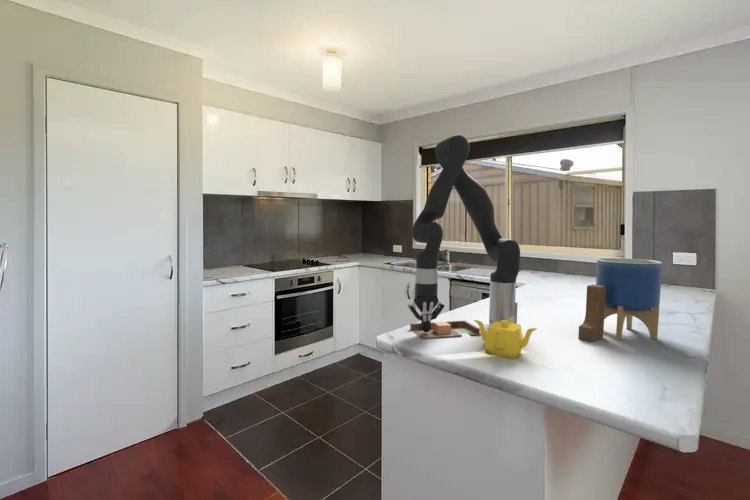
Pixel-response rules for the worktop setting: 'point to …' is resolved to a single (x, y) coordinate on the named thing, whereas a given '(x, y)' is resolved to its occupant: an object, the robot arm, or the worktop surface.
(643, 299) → the planter
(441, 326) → the block
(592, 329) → the wooden block
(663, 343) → the worktop surface
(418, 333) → the box
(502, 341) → the teapot
